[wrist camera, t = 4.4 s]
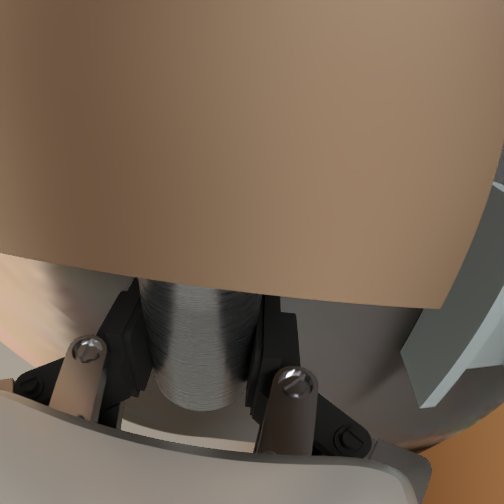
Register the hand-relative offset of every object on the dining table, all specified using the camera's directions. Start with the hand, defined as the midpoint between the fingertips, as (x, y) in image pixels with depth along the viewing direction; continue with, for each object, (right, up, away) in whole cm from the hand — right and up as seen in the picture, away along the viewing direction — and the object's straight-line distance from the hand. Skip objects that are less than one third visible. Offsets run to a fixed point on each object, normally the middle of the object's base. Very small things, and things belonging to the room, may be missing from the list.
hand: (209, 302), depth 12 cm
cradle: (+15, 0, +1) cm, 15 cm away
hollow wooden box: (+1, +10, -4) cm, 11 cm away
